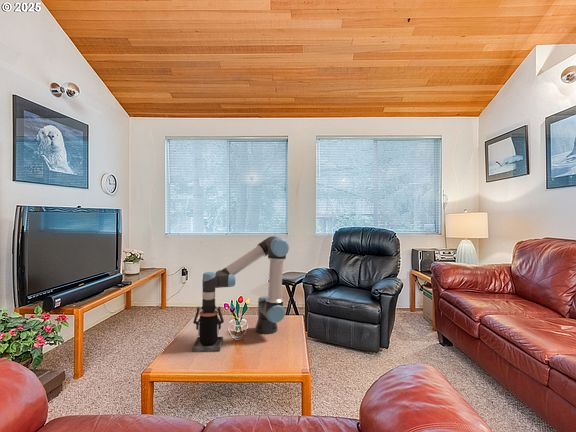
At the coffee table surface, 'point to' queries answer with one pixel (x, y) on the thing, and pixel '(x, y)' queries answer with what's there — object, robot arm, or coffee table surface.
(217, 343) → the jar stand
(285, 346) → the coffee table surface
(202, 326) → the coffee jar
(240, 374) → the coffee table surface
